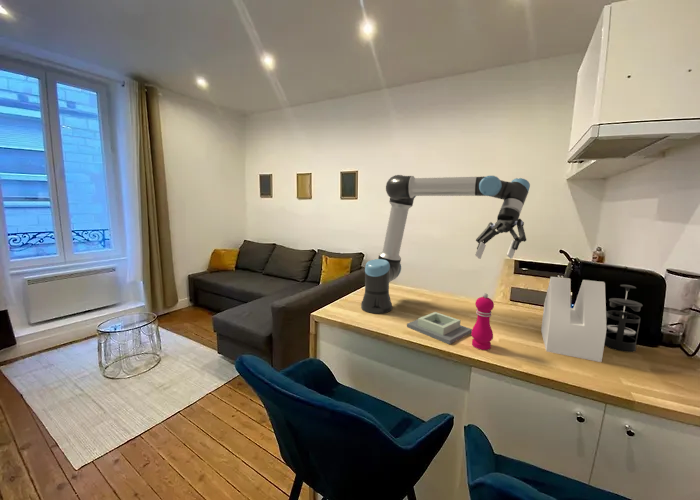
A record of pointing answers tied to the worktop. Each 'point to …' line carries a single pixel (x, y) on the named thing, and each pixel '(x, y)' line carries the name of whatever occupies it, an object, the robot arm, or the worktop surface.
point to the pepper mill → (483, 323)
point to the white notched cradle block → (575, 319)
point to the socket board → (440, 327)
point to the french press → (622, 324)
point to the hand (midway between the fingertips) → (492, 256)
